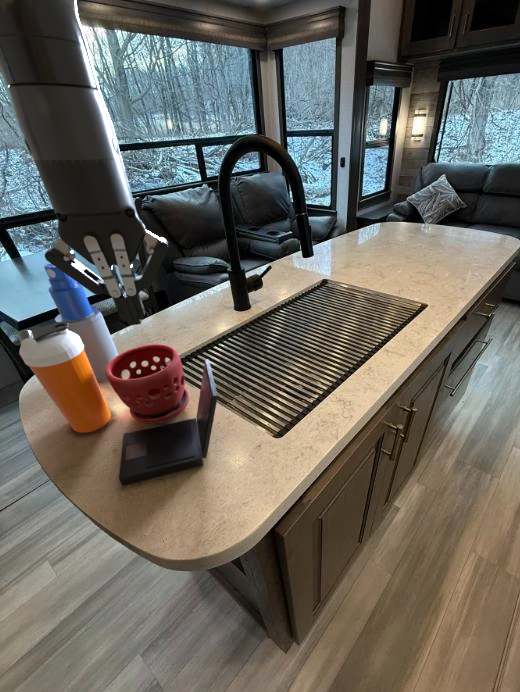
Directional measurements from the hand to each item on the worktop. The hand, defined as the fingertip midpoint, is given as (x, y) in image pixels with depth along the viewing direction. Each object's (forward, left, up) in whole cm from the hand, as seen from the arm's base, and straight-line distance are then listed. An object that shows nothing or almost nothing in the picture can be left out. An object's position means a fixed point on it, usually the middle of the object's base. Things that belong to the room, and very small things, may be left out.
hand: (135, 322), depth 42 cm
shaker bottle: (-17, +16, -26) cm, 35 cm away
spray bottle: (-17, +35, -26) cm, 47 cm away
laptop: (-3, +2, -26) cm, 26 cm away
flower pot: (-4, +15, -26) cm, 30 cm away
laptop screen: (+5, +2, -18) cm, 19 cm away
